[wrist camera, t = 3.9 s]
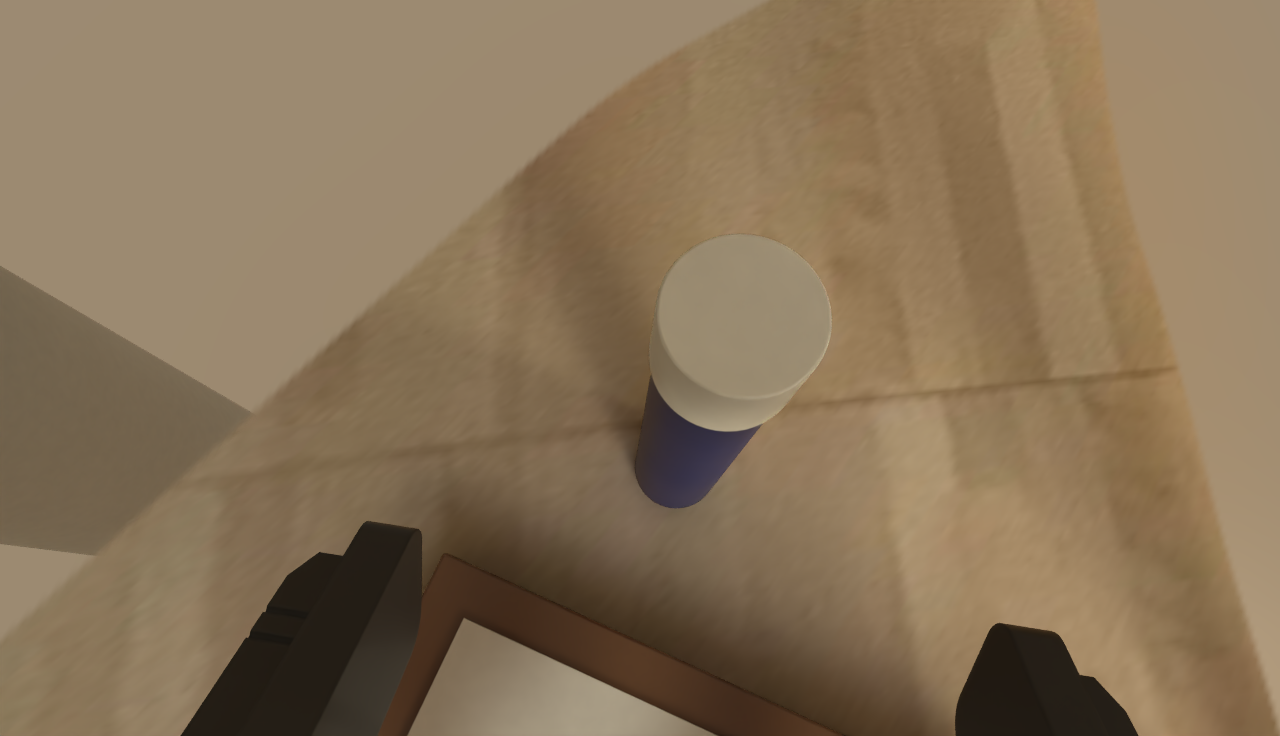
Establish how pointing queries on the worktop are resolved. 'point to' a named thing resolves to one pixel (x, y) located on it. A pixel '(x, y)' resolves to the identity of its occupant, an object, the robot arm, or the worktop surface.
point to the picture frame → (556, 674)
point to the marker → (725, 358)
